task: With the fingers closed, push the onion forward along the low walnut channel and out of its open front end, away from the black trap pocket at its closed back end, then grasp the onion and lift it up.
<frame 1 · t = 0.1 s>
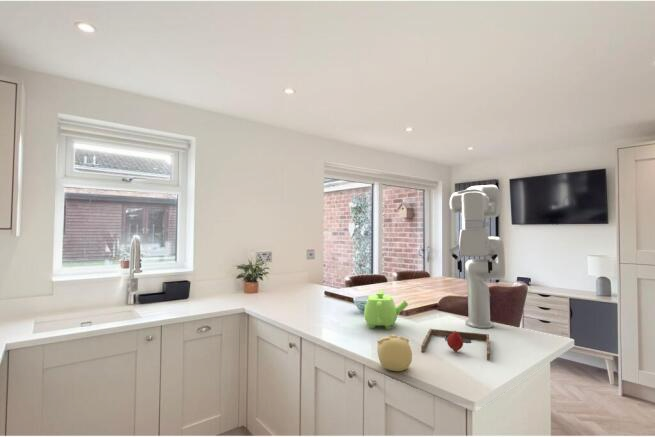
hand: (474, 272, 127), 31 cm above the worktop, tool pointing down, fingers open, 9 cm apart
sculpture: (395, 368, 120), on the worktop
onion: (455, 351, 133), on the worktop
chinaware: (366, 312, 198), on the worktop
teapot: (386, 324, 172), on the worktop
wooden u-shaped frame: (456, 345, 139), on the worktop
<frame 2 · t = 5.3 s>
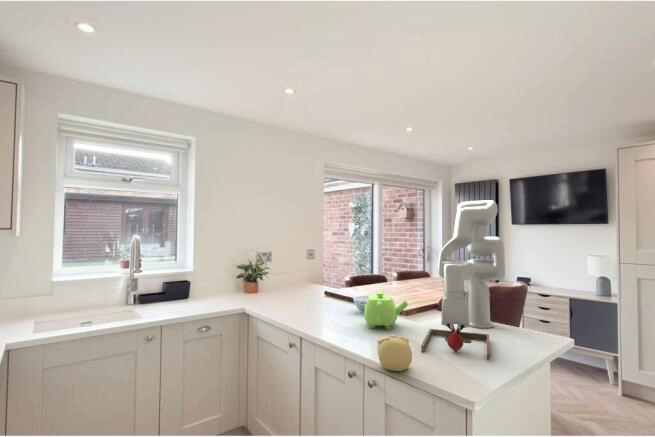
hand: (456, 340, 137), 3 cm above the worktop, tool pointing down, fingers closed
onion: (455, 352, 133), on the worktop, touching gripper
everything else where it was.
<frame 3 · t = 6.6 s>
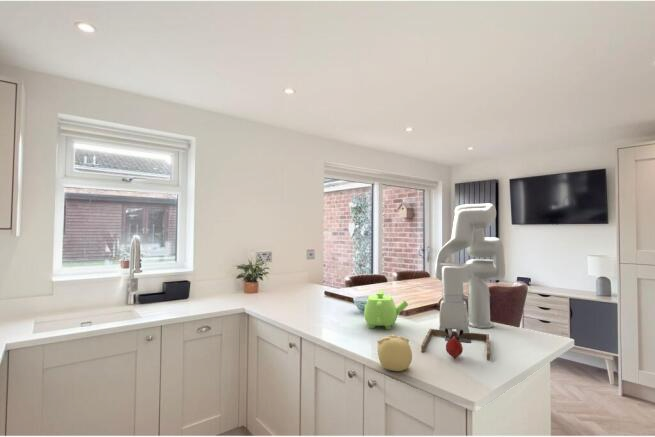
hand: (454, 346, 131), 3 cm above the worktop, tool pointing down, fingers closed
onion: (454, 358, 127), on the worktop, touching gripper
everything else where it was.
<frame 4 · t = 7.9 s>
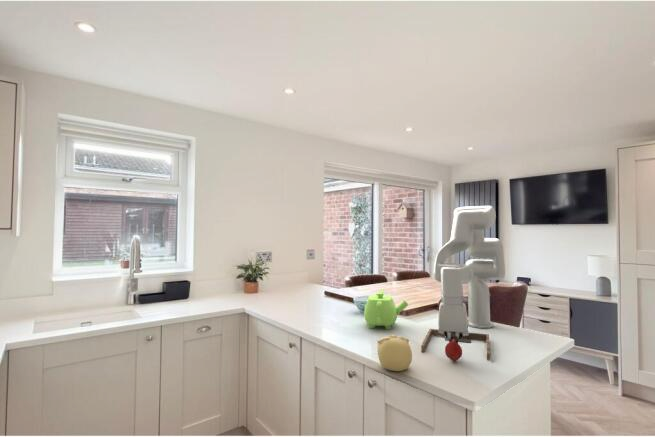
hand: (453, 350, 128), 3 cm above the worktop, tool pointing down, fingers closed
onion: (453, 362, 124), on the worktop, touching gripper
everything else where it was.
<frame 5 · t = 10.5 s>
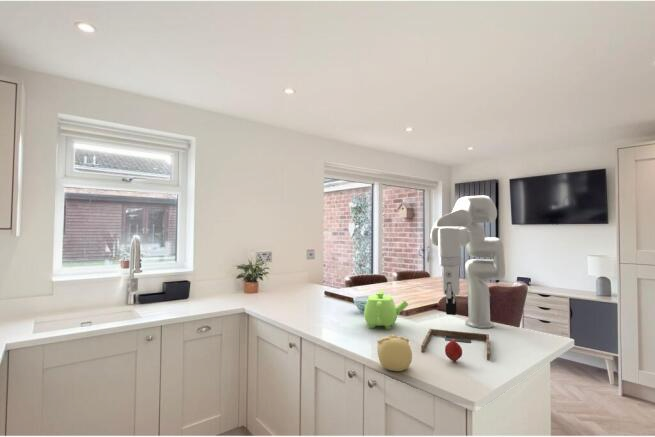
hand: (451, 313, 123), 17 cm above the worktop, tool pointing down, fingers closed
onion: (453, 362, 124), on the worktop
everything else where it was.
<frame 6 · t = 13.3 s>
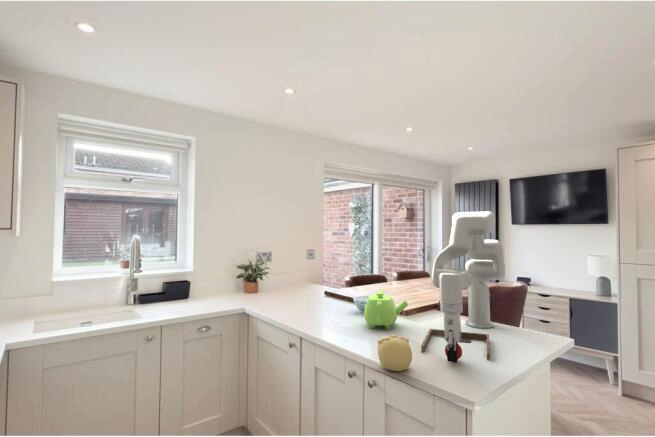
hand: (453, 357, 123), 2 cm above the worktop, tool pointing down, fingers open, 6 cm apart
onion: (453, 362, 123), on the worktop, touching gripper
everything else where it was.
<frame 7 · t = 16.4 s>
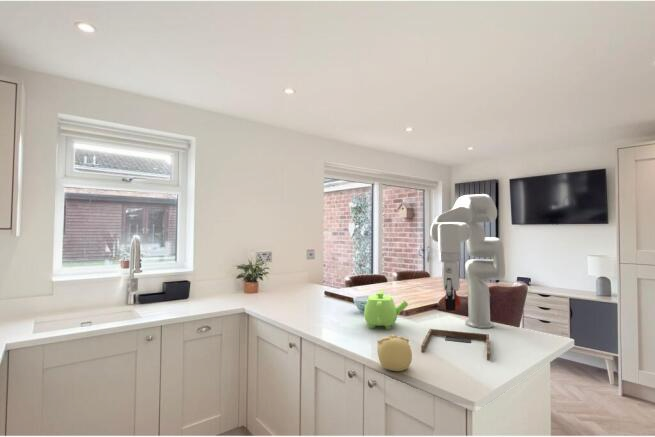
hand: (451, 307, 123), 19 cm above the worktop, tool pointing down, fingers closed on onion, 5 cm apart
onion: (452, 312, 123), point 17 cm above the worktop, touching gripper
everything else where it was.
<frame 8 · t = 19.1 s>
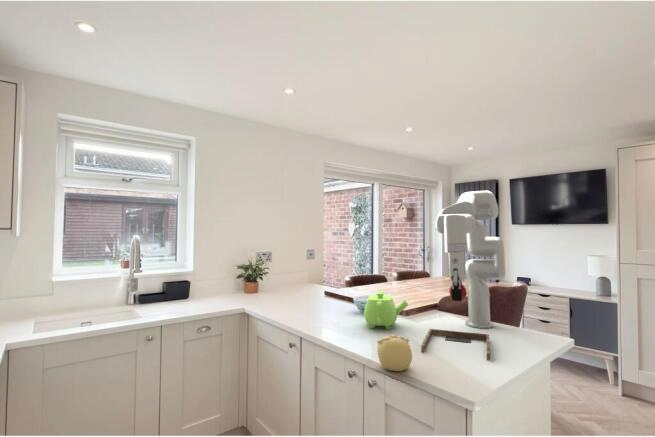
hand: (457, 298, 125), 22 cm above the worktop, tool pointing down, fingers closed on onion, 5 cm apart
onion: (458, 303, 125), point 21 cm above the worktop, touching gripper
everything else where it was.
at the end: onion point 20.5 cm above the worktop; the gripper is holding onion; onion moved 22.5 cm from its start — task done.
